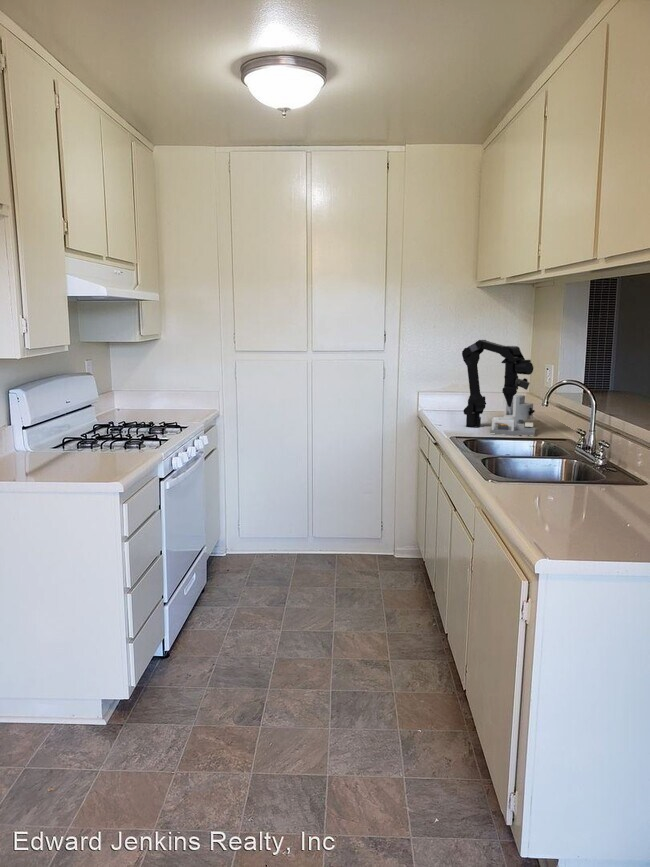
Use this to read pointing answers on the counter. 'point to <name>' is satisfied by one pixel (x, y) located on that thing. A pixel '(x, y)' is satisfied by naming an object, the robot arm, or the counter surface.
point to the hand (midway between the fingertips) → (509, 406)
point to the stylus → (509, 409)
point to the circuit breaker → (519, 410)
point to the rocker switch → (528, 424)
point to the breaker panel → (510, 430)
